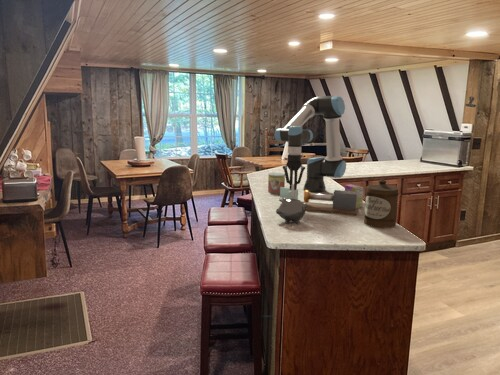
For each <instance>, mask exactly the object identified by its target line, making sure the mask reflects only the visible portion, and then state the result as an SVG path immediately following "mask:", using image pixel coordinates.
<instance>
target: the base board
mask: <svg viewBox="0 0 500 375" xmlns="http://www.w3.org/2000/svg"><path fill="white" fill-rule="evenodd" d="M302 202H303V203H304V204H307V205H308V206H307V208H306V211H305V212H311V213H323V214H335V215H345V216H346V215H347V216H358V210H359V208H358V206H356V210H355V211H351V210H339V209H333V203H322V202H310V201H309V202H304V201H302Z"/></svg>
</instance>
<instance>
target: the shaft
mask: <svg viewBox="0 0 500 375" xmlns="http://www.w3.org/2000/svg"><path fill="white" fill-rule="evenodd" d="M310 200H312V201H322V202H327V201H328V202H333V194H323V193H316V192H312V193H311V192H309V190H304V192H303V202H310Z"/></svg>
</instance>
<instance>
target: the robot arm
mask: <svg viewBox="0 0 500 375" xmlns="http://www.w3.org/2000/svg"><path fill="white" fill-rule="evenodd" d="M345 109H346V105H345V102H344V99H343V97H342V96H339V95H322V96H321V95H318V96H316V97H313V98H310V99H309V100H307V101H306V102H305V103H304V104H303V105H302V107H301V108H300V110H299V111H298V112H297V113H296V114H295V115H294V116H293V117H292V118H291V119H290V120H289V121H288V123H287V124H286V125H284V126H283V128H276V129H275V132H274V139H275V141H277V142H285V143H288V144H287V159H286V160H287V162H286V164H285V165H283V166H282V169H283V172H284V174H285V181H286V182H285V183H286V184H289V188H290V190H291V196H294V195H295V190H296V189H298V185H299V184H300V183H301V180H302V178H303V175H304V171H305V170H306V180H305V182H304V186H303V191H305V190H309V193H311V192H312V193H322V192H323V193H324V192H326V191H327V190H326V189H327V188H326V184H325V180H324V177H325V178H326V177H327V178H334V179H341V178H342V177H343V176H344V175H345V173H346V170H347V162H346V161H345V160H343V156H342V155H341V142H340V141H341V140H340V139H341V137H340V133H341V132H340V119H341V118H342V115H344V113H345ZM315 115H316V116H317V115H321V116H322V118H323V119H324V120H325V133H326V134H325V138H326V141H325V143H326V156H317V157H309V158H308V159H307V163H306V166H304V165H302V155H301V154H302V146H303V145H302V144H306V143H310V142H312V140H313V137H314V133H313V132H312V130H310V129H308V128H307V129H304V128H303V126H304V124H305V123H307V121H308V120H310V118H313V117H314V116H315ZM288 169H289V171H288ZM299 169H300V172H299V176H298V170H299ZM293 180H294V181H293Z"/></svg>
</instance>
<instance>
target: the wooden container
mask: <svg viewBox="0 0 500 375" xmlns="http://www.w3.org/2000/svg"><path fill="white" fill-rule="evenodd" d="M365 188H366V189H365V200H364V201H365V203H364V212H363V216H364V217H363V224H364V225H365V226H369V227H372V228H376V229H391V228H395V227H396V226H397V218H398V217H397V216H398V198H399V188H398V187H396V186H393V185H387V180H386V179H382V178H381V179H379V180H378V184H370V185H367V186H365Z"/></svg>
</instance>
